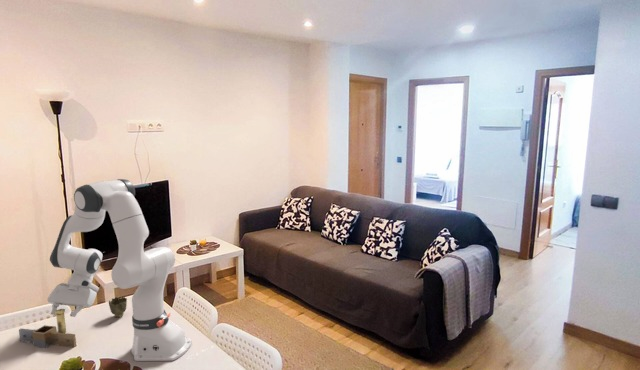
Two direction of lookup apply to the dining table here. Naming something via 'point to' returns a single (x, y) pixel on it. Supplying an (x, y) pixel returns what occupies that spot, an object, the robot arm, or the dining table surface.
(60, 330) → the hinge pin
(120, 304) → the cup
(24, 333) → the hinge
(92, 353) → the dining table surface
